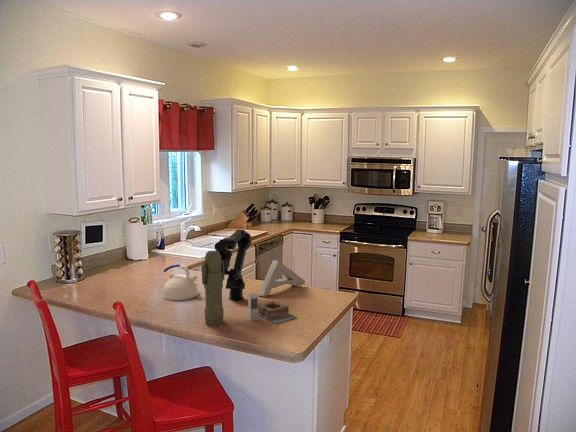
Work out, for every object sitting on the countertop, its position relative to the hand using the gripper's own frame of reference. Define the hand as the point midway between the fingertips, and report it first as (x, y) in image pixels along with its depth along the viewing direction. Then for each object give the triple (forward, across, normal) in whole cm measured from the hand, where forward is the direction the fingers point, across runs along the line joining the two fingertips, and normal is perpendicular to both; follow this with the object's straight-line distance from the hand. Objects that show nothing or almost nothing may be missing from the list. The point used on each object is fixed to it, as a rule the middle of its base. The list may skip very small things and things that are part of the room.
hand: (217, 288), depth 226 cm
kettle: (-6, -34, +30) cm, 45 cm away
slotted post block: (+6, +27, +15) cm, 31 cm away
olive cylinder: (+17, +2, +2) cm, 17 cm away
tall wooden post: (+11, +19, +9) cm, 24 cm away
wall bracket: (-21, +21, +47) cm, 56 cm away
